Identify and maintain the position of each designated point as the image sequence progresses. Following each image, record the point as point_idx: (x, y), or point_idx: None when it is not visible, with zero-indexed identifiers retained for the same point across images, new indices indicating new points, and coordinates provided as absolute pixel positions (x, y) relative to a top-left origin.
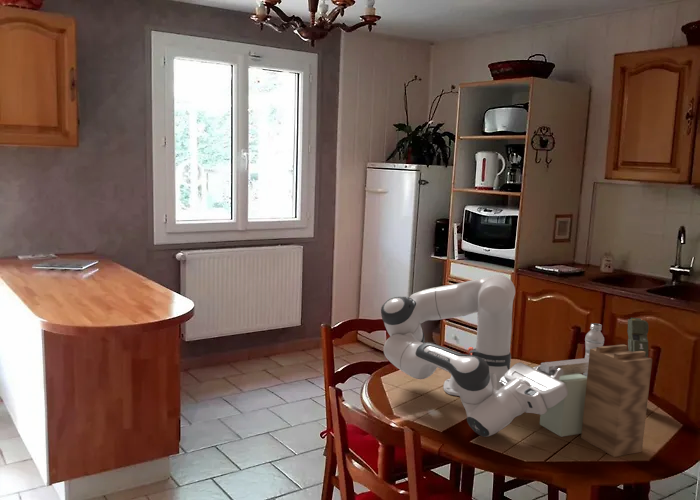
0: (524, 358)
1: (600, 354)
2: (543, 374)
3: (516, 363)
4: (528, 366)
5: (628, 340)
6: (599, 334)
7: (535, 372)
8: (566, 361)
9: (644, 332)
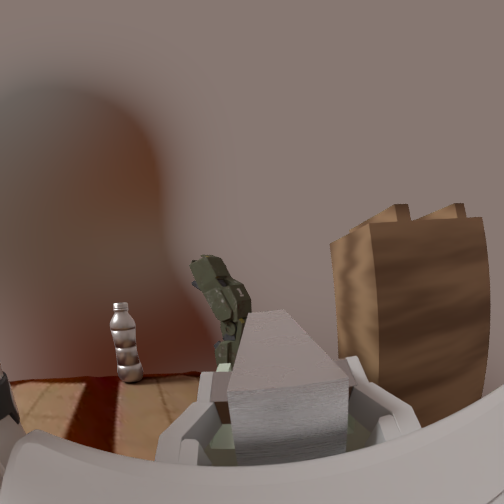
0: (39, 379)
1: (416, 226)
2: (358, 464)
3: (17, 444)
4: (115, 460)
5: (206, 294)
6: (128, 316)
7: (256, 499)
8: (260, 333)
9: (227, 273)
